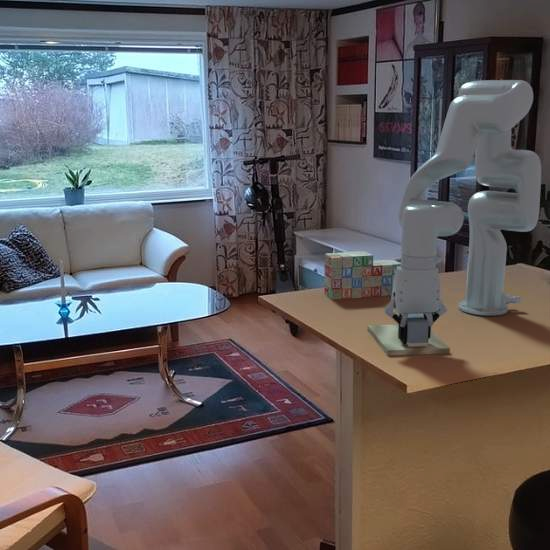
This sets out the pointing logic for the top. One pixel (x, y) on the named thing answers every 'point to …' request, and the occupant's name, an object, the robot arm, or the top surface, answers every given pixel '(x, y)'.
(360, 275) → the stack of blocks
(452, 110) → the robot arm
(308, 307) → the top surface
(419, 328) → the block
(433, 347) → the board
